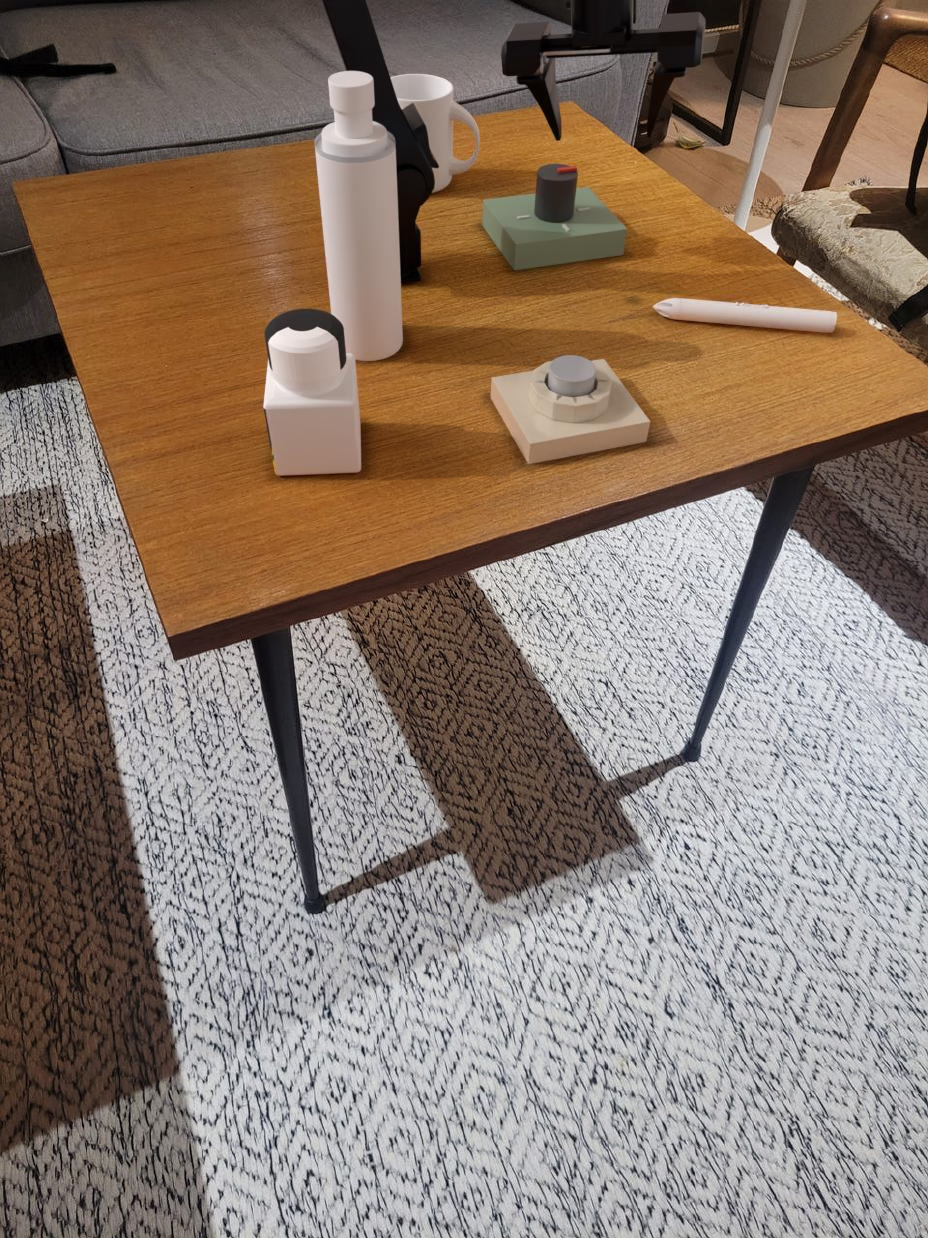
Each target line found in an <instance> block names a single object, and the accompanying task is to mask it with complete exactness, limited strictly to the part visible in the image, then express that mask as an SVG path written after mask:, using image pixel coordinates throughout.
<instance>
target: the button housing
mask: <svg viewBox="0 0 928 1238" xmlns="http://www.w3.org/2000/svg"><path fill="white" fill-rule="evenodd" d="M552 361H553V360H549V361H545V362H544V363H542V364H541V365H539V366H537V367H536V368H534V369H533V370H528V371H523V372H521V371H520V372H516V373H510V374H504V375H498V376H492V377H491V379H490V399H491V402H492V403H493V405H494V407H495V408H496V410H497V412H498V414H499V416H500V417H501V419H502V421H503V422H504V424H505V426H506V428H507V429H508V432H509V433H510V435H511V437H512V439H513V440H514V441H515V443H516V446H517V447H518V449H519V451H520V452H521V454H522V456H523V457H524V460H525V461H526V463H527V465H531V464H537V463H538V464H539V463H543V462H548V461H552V460H553V461H554V460H557V459H558V460H559V459H564V458H570V457H574V456H579V455H584V454H591V453H596V452H600V451H605V450H610V449H615V448H621V447H626V446H632V445H637V444H642V443H647V440H648V434H649V431H650V425H651V420H650V419H649V417H648V416H647V415H646V413H645V412H644V411H643V410H642V408H641V406H640V405H639V404H638V402H637V401H636V400H635V399H634V397H633V395H632V394H631V393H630V391H629V390H628V389H627V388H626V386H625V385H624V384H623V382H622V381H621V380H620V378H619V377H618V376H617V373H616V372H615V371H614V370H613V369H612V367H611V366H610V365H609V363H608V362H607V360H605V358H600V359H593V360H590V361H591V362H592V363H593V364H594V365H595V367H596V376H595V383H594V389H593V391H592V392H591V393H590V394H589V395H585V396H579V397H567V396H560V395H558V394H556V393H555V392H553V391H551V390H550V389H549V387H548V375H549V366H550V363H551V362H552Z"/></svg>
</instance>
